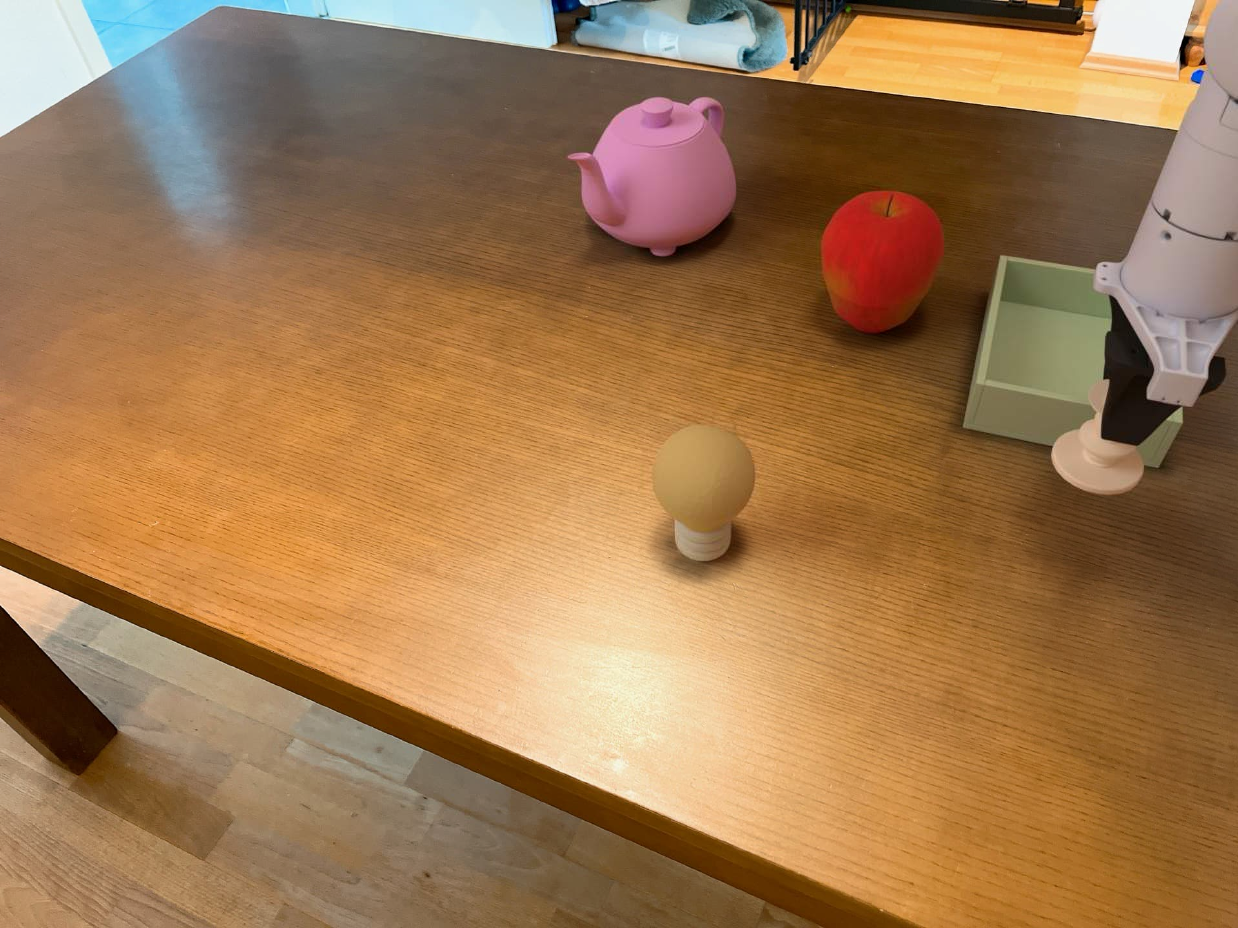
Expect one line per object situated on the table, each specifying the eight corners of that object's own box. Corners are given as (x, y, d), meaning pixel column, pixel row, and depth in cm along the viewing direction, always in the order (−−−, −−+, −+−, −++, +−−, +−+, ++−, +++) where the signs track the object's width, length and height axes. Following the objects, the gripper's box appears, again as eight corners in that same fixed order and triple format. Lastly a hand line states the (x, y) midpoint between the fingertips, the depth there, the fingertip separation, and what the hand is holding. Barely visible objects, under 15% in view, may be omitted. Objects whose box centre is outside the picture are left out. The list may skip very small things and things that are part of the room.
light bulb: (683, 495, 65) (681, 392, 58) (765, 528, 63) (775, 425, 56) (638, 559, 62) (630, 458, 54) (724, 597, 59) (727, 496, 52)
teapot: (636, 307, 80) (629, 181, 71) (528, 248, 88) (509, 127, 79) (778, 208, 89) (786, 86, 81) (669, 162, 97) (666, 46, 88)
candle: (1050, 427, 59) (1102, 297, 52) (1138, 442, 58) (1205, 310, 51) (1050, 486, 56) (1106, 356, 49) (1143, 503, 55) (1215, 372, 47)
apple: (931, 295, 79) (960, 168, 70) (921, 363, 73) (952, 233, 64) (822, 281, 81) (837, 155, 72) (804, 345, 76) (818, 217, 67)
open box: (1158, 328, 74) (1179, 282, 71) (1158, 468, 64) (1183, 423, 61) (987, 299, 78) (1000, 254, 75) (962, 428, 68) (976, 383, 65)
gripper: (1127, 126, 50) (1055, 325, 60) (1123, 282, 41) (1039, 485, 51) (1275, 142, 48) (1175, 345, 58) (1305, 309, 39) (1181, 515, 49)
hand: (1120, 412), depth 54 cm, fingers closed on candle, 4 cm apart
